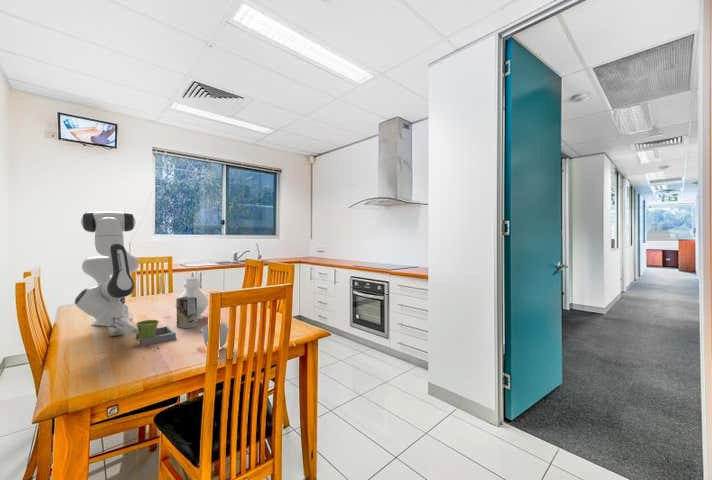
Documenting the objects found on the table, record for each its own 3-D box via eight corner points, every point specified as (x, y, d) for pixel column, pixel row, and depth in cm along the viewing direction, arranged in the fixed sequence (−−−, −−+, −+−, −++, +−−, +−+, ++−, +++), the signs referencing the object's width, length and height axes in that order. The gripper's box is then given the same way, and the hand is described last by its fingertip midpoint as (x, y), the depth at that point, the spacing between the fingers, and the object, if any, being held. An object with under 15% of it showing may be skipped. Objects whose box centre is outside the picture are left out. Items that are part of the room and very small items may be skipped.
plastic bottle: (115, 338, 155) (115, 298, 154) (104, 336, 156) (104, 297, 155) (127, 333, 161) (127, 295, 160) (116, 332, 162) (116, 295, 162)
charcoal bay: (136, 337, 156) (136, 331, 156) (168, 331, 166) (168, 325, 165) (141, 345, 145) (141, 339, 145) (175, 338, 154) (175, 332, 154)
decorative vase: (214, 316, 195) (214, 277, 194) (189, 324, 179) (189, 281, 178) (195, 313, 202) (194, 275, 201) (168, 320, 186) (168, 278, 185)
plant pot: (131, 343, 147) (132, 325, 147) (141, 336, 156) (141, 319, 156) (153, 342, 148) (153, 324, 148) (161, 336, 158) (162, 319, 158)
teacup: (219, 340, 152) (219, 320, 152) (234, 348, 143) (234, 327, 142) (193, 347, 143) (193, 326, 143) (208, 356, 133) (208, 333, 133)
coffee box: (197, 325, 176) (197, 297, 175) (187, 328, 170) (187, 299, 170) (186, 323, 179) (185, 296, 179) (175, 326, 174) (175, 298, 173)
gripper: (121, 315, 137) (147, 332, 144) (116, 306, 152) (140, 322, 159) (108, 327, 134) (136, 344, 141) (104, 317, 149) (129, 333, 156)
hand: (138, 332), depth 150 cm, fingers closed, pressing on plant pot
